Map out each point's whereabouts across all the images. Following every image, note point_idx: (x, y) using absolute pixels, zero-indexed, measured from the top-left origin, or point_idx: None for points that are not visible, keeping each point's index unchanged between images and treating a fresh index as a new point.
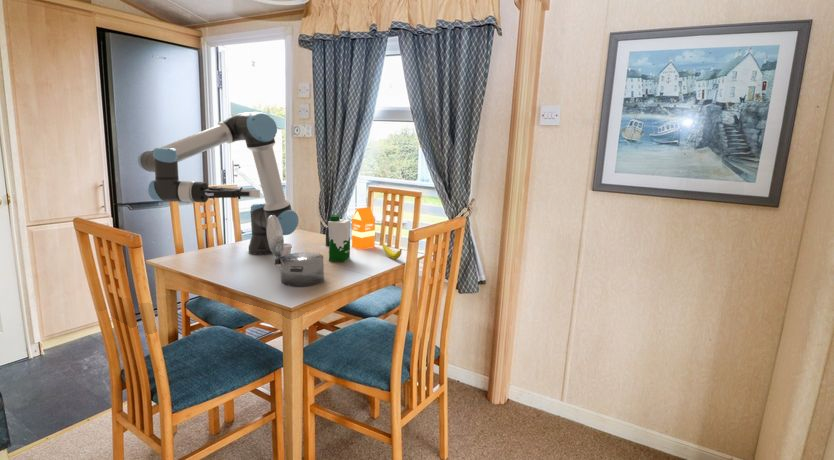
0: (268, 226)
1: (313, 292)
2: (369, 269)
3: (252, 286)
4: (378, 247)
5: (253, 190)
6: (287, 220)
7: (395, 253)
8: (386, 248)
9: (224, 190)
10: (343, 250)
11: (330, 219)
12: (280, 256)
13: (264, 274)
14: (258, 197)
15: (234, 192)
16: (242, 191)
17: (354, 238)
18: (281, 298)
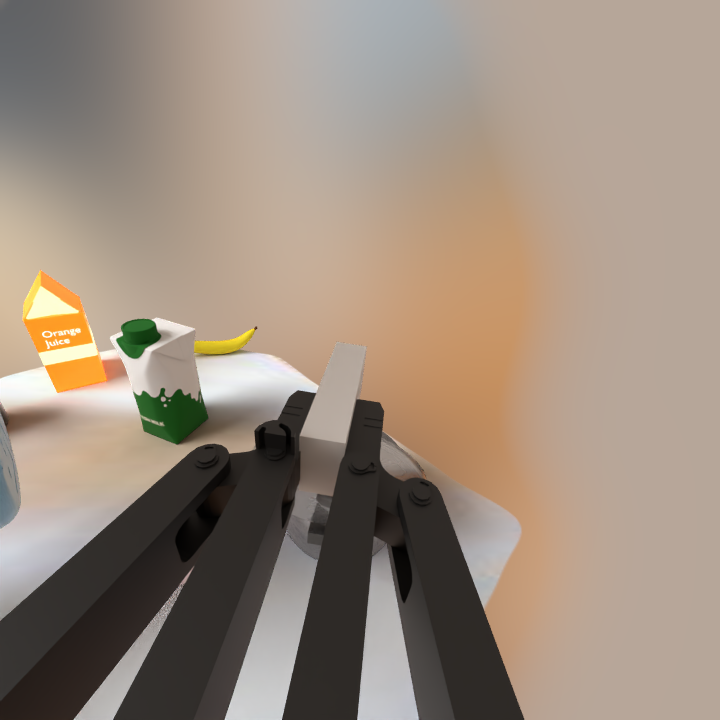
0: (416, 463)
1: (431, 482)
2: (284, 388)
3: (394, 668)
4: (115, 356)
5: (362, 368)
6: (4, 450)
7: (243, 339)
8: (195, 343)
9: (356, 693)
10: (201, 395)
11: (139, 341)
12: (312, 525)
13: (250, 641)
14: (360, 391)
15: (436, 506)
16: (347, 442)
17: (62, 368)
18: (485, 550)
